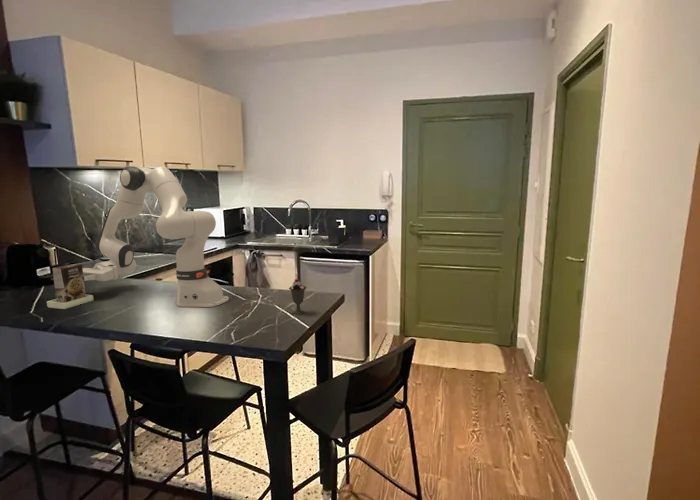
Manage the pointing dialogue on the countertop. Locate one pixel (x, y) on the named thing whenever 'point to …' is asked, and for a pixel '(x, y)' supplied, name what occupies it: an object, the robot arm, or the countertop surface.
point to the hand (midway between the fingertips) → (75, 278)
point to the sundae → (297, 295)
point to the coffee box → (68, 283)
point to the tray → (69, 304)
